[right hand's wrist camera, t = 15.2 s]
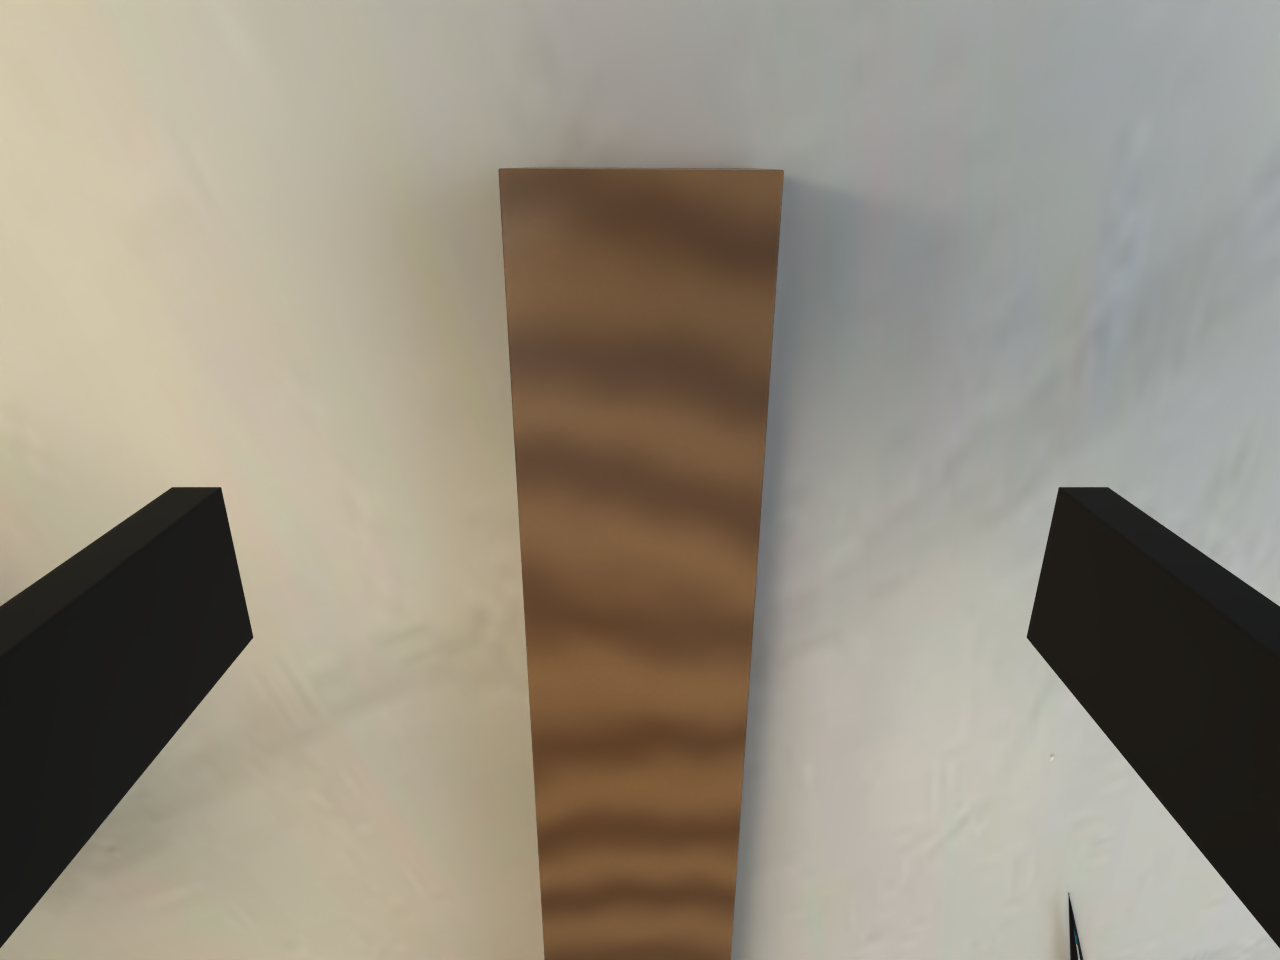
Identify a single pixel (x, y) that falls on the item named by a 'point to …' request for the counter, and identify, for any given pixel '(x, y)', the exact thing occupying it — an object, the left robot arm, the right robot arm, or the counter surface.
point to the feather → (1073, 931)
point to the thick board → (639, 536)
